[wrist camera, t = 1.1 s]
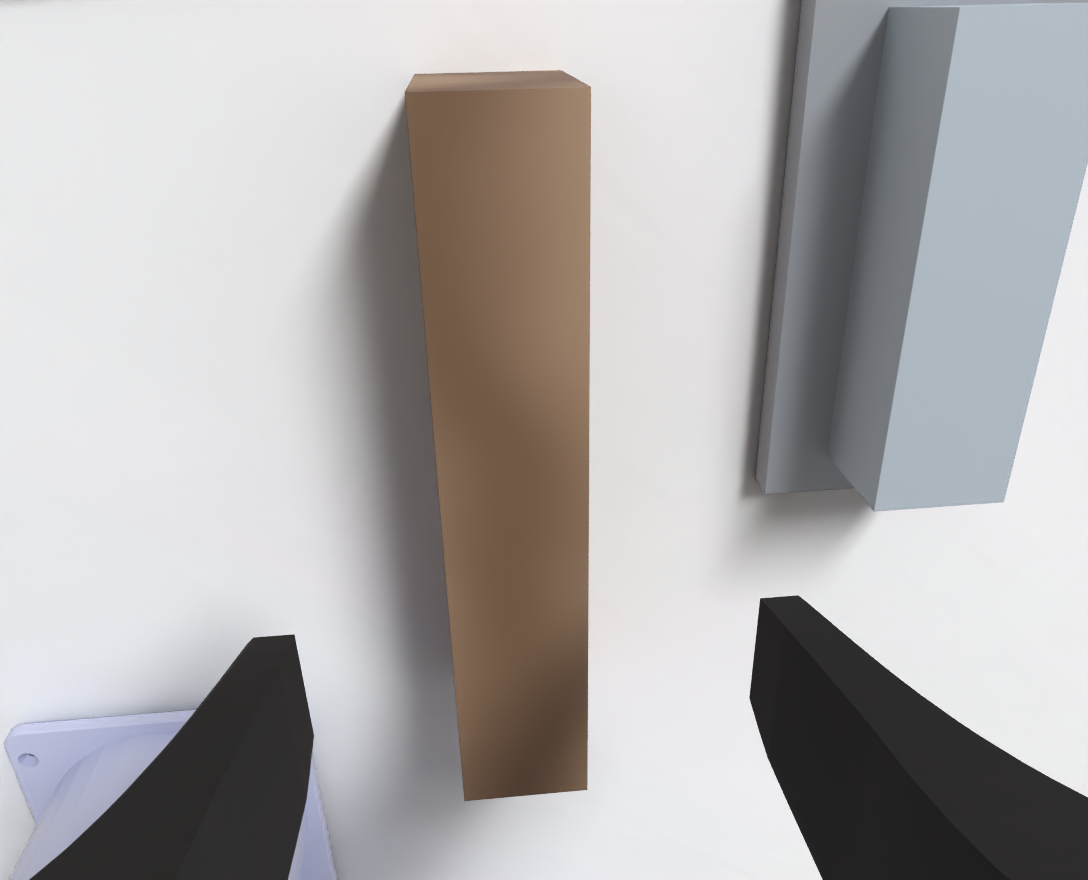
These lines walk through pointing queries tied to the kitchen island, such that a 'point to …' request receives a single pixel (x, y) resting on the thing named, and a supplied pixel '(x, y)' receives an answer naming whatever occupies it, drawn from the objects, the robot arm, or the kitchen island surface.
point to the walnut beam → (510, 409)
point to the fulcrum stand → (920, 243)
